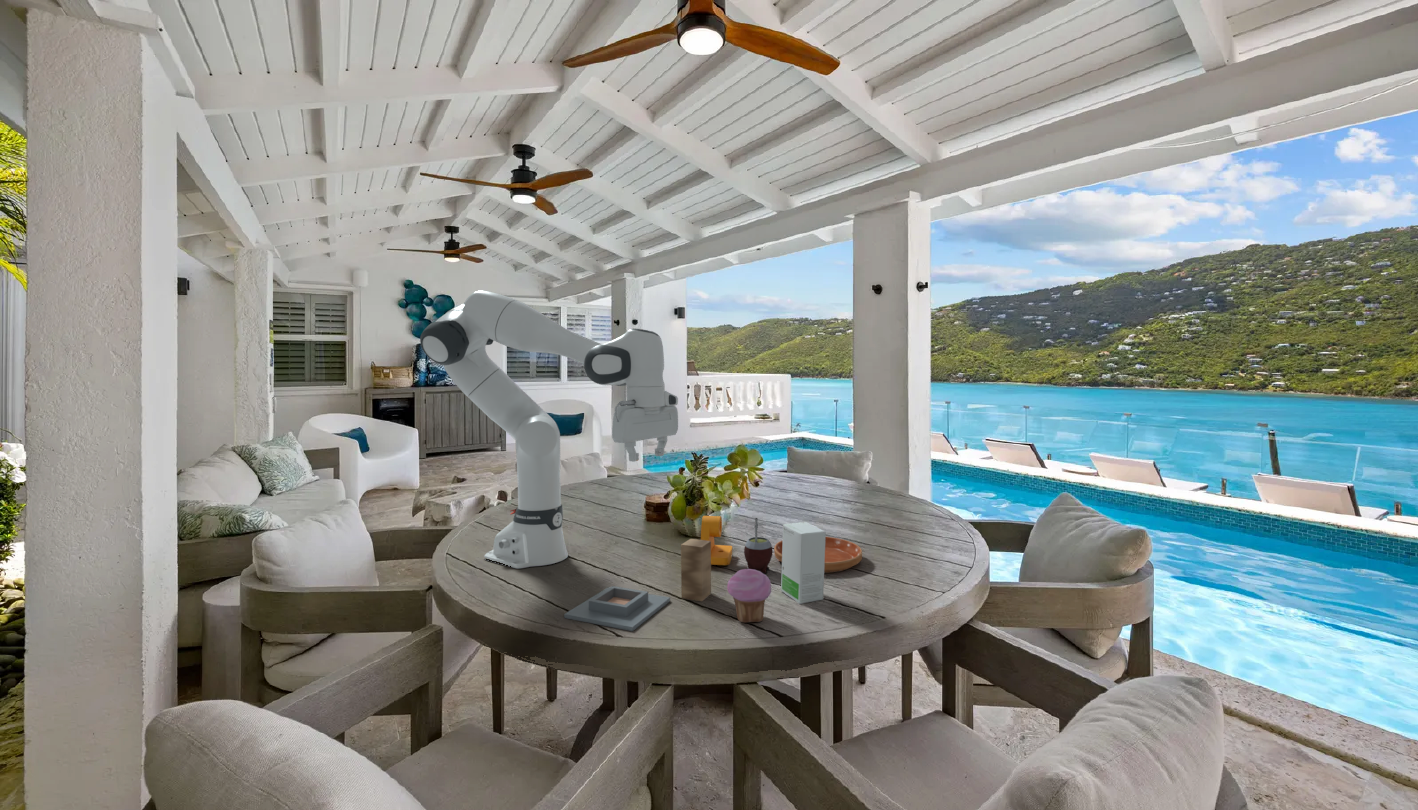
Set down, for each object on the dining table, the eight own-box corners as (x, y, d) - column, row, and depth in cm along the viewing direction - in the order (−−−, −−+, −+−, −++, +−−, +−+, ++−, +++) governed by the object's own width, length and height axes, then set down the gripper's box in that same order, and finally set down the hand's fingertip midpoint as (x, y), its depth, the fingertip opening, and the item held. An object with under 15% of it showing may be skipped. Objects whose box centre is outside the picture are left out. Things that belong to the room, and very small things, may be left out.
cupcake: (730, 629, 111) (730, 578, 110) (725, 611, 119) (724, 563, 119) (775, 627, 112) (775, 576, 111) (767, 609, 120) (766, 562, 120)
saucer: (845, 582, 136) (845, 567, 136) (759, 566, 148) (759, 552, 148) (873, 556, 155) (873, 543, 155) (794, 544, 167) (794, 531, 167)
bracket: (727, 568, 146) (727, 522, 145) (699, 567, 147) (699, 521, 147) (732, 555, 157) (732, 512, 156) (706, 554, 158) (706, 511, 157)
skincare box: (780, 591, 130) (780, 523, 129) (805, 587, 133) (805, 520, 132) (800, 605, 122) (800, 533, 122) (826, 600, 125) (826, 529, 124)
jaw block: (681, 598, 127) (680, 544, 126) (691, 590, 131) (690, 538, 131) (702, 601, 125) (701, 547, 124) (711, 593, 129) (710, 541, 129)
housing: (564, 617, 117) (564, 604, 116) (608, 590, 131) (607, 578, 131) (632, 631, 110) (632, 617, 110) (670, 601, 125) (670, 588, 125)
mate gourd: (760, 564, 148) (760, 507, 148) (780, 573, 142) (780, 513, 141) (737, 570, 144) (737, 511, 144) (756, 579, 138) (756, 518, 137)
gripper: (626, 401, 122) (627, 465, 123) (682, 397, 139) (683, 453, 140) (604, 401, 126) (606, 463, 126) (661, 397, 143) (662, 452, 143)
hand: (647, 458), depth 133 cm, fingers open, 8 cm apart
